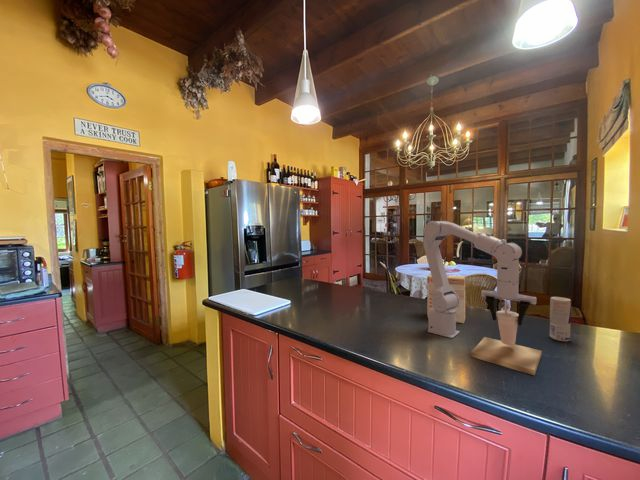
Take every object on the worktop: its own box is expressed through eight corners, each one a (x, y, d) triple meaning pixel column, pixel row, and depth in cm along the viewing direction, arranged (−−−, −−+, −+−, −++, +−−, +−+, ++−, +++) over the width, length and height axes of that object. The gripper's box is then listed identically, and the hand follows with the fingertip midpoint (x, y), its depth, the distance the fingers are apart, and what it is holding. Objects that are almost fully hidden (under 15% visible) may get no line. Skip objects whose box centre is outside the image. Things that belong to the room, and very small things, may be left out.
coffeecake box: (465, 318, 120) (465, 275, 119) (464, 323, 114) (464, 278, 113) (430, 313, 128) (430, 273, 127) (427, 318, 122) (427, 275, 121)
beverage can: (574, 342, 94) (575, 300, 93) (555, 341, 95) (556, 300, 94) (563, 336, 99) (564, 296, 99) (545, 335, 100) (546, 296, 100)
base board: (470, 356, 85) (470, 351, 85) (484, 340, 97) (484, 336, 97) (534, 375, 74) (534, 370, 74) (541, 355, 85) (541, 350, 85)
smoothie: (491, 339, 90) (490, 299, 89) (508, 337, 91) (507, 296, 90) (507, 348, 84) (506, 304, 83) (525, 345, 85) (524, 302, 84)
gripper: (538, 281, 84) (537, 324, 84) (485, 276, 94) (484, 314, 95) (535, 285, 79) (534, 330, 79) (479, 279, 89) (479, 319, 90)
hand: (507, 321), depth 87 cm, fingers closed on smoothie, 6 cm apart
